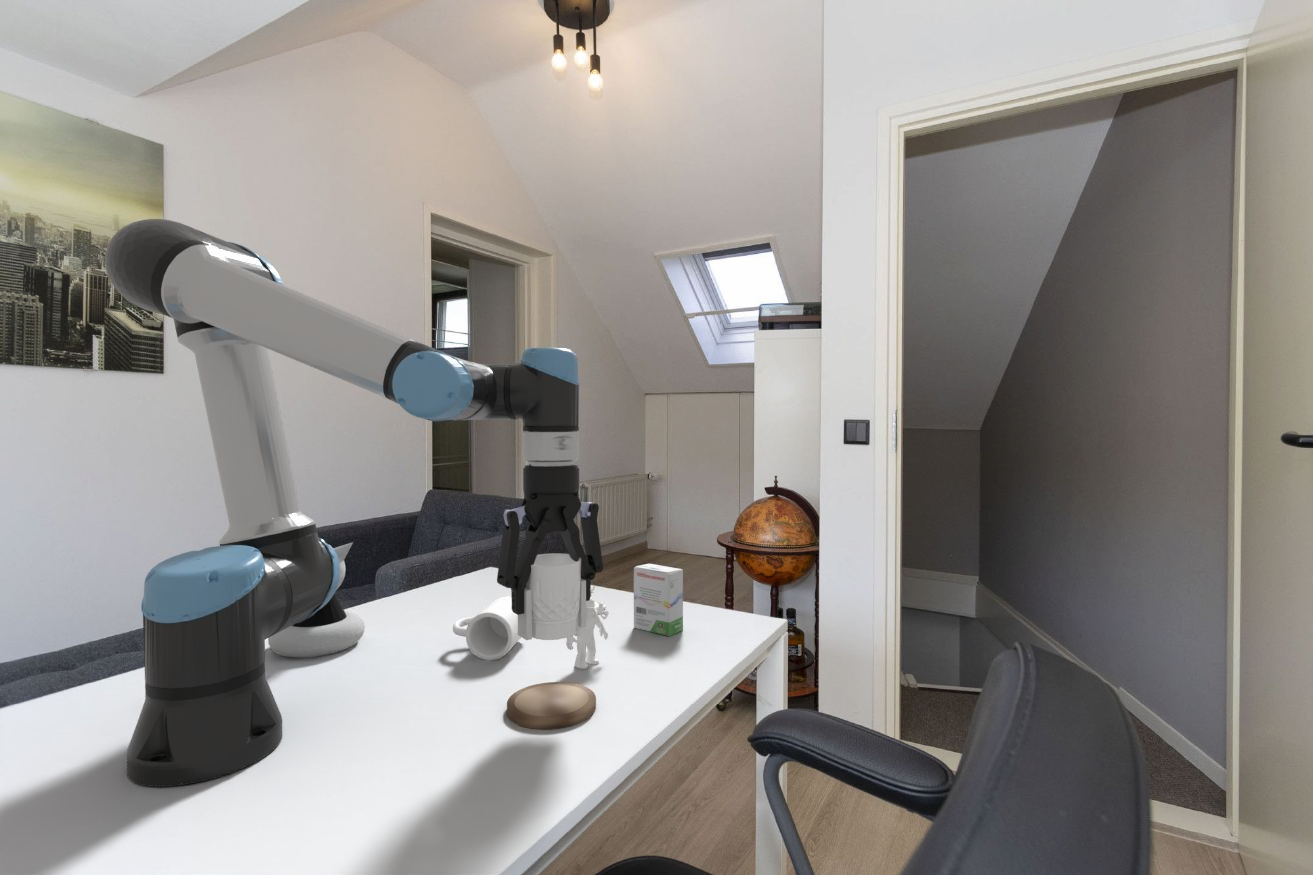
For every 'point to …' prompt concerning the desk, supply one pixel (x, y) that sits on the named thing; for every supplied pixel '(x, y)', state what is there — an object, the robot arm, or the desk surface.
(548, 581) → the white cup
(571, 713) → the coaster
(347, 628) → the decorative figurine
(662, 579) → the ink box
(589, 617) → the flower shoulder figurine
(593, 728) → the desk surface
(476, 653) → the mug
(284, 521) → the robot arm
